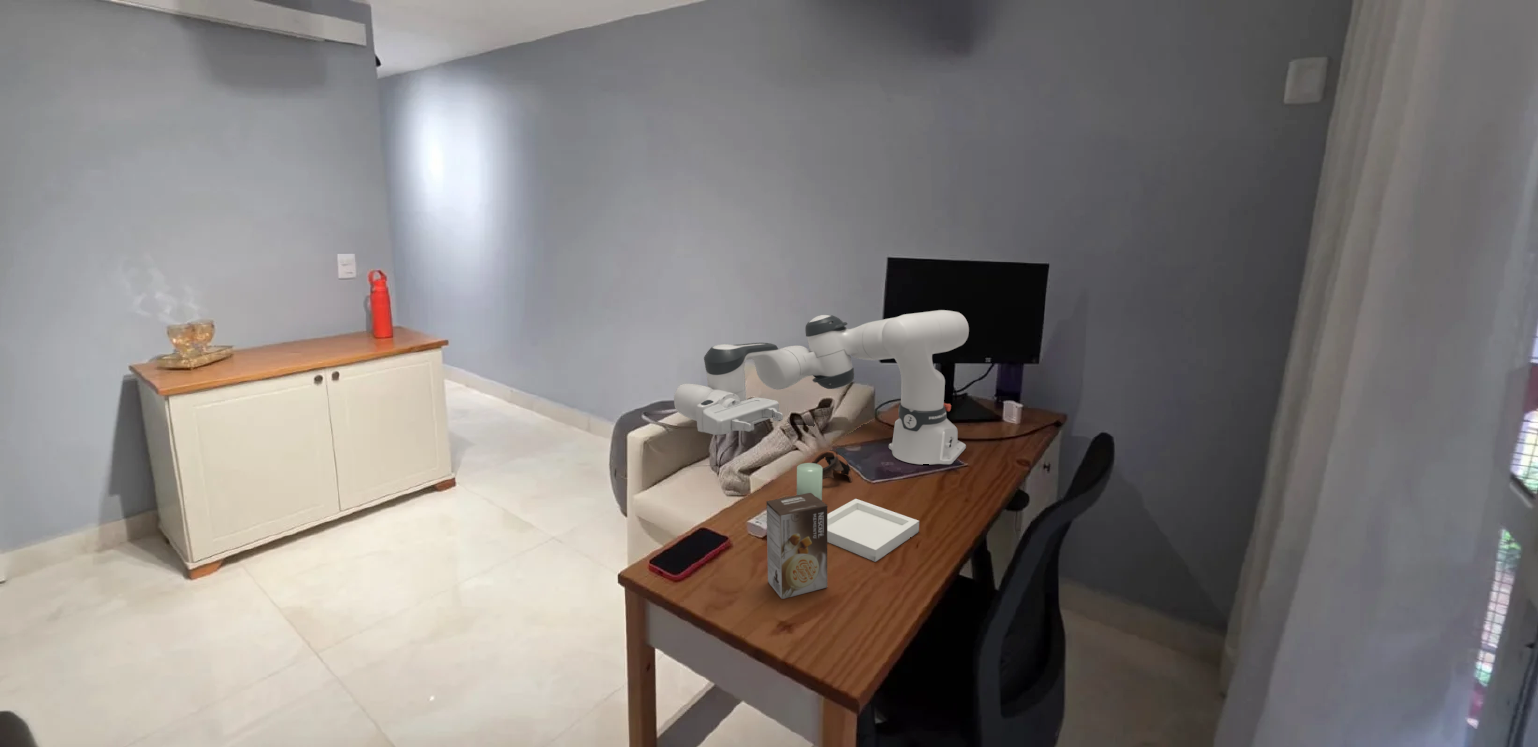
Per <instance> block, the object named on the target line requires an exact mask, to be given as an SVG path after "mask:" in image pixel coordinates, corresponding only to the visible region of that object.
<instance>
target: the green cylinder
mask: <svg viewBox="0 0 1538 747" xmlns="http://www.w3.org/2000/svg"><path fill="white" fill-rule="evenodd" d="M823 468H824V467H823V466H822V465H820V464H819V463H817V464H815V463H812V462H804V463H800V464H798V465H797V466H796V495H801V494H806V493H812V494H813V495H814V496H816V497H818V498H819V499H820V500H821V501H822V502H823V479H822V470H823Z"/></svg>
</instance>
